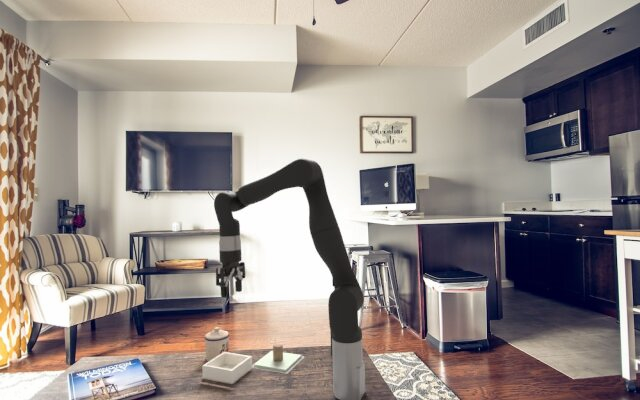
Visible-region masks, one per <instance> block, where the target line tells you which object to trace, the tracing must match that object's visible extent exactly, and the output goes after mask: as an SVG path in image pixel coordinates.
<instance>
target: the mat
mask: <svg viewBox="0 0 640 400" xmlns="http://www.w3.org/2000/svg"><path fill="white" fill-rule="evenodd" d="M305 357H306V356H304V355H302V357H301V358H300V359H299V360H298V361H297V362H296V363H295V364H294V365H293V366H292V367H291V368H290V369H289V370H287V371H286V372H282V371H276V370H271V369H265V368H259V367H254V364H255V363H252V368H253V369H256V370H260V371H261V370H262V371H267V372H268V371H269V372H272V373H273V372H274V373H281V374H285V375H287V374H289V373H290V372H291V371H292V370H293V369H294V368H295V367H296V366H297V365H298V364H299V363H300V362H301V361H303V359H304V358H305Z"/></svg>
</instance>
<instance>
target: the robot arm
mask: <svg viewBox="0 0 640 400" xmlns="http://www.w3.org/2000/svg"><path fill="white" fill-rule="evenodd" d="M324 177H325V176H324V171H323V169H322V167H321V166H320V164H319V163H318V162H317V161H315V160H312V159H308V158H297V159H294V160H293V161H292V162H290V163H288V164H286V165H285V166H283V167H281V169H278V170H276V171H275V172H273V173H271V174H269V175H267V176H265V177H262V178H260V179H257V180H254V181H252V182H249V183H247V184H244V185H242V186H241V187H240V188H239V189H238V190H236V191H233V192H232V191H231V192H229V191H228V192H227V191H226V192H219V193H218V194H217V195H216V196H215V198H214V201H213V207H214V211H215V215H216V218H217V221H218V224H219V227H218V229H219V241H218V245H219V247H218V248H219V249H218V250H219V251H218V252H219V263H221V264H222V266H221V267H216V270H215V285H216V286H218V287H220V297H221V298H228V296H229V295H228V294H229V293H228V290H229V289H228V284H229V282H230V281H231V279H232V278H233V279H234V280H235V283H234V284H235V286H234V287H235V292H236V293H237V292H238V293H241V292H242V291H243V285H242V284H243V283H242V281H244V279H246V265H245V262H244V261H242V259H243V258H242V241H241V235H240V234H241V230H240V229H241V227H240V226H241V225H240V222H239V220H238V219H237V218H234V216H233V213H235V212H239V211H241V210H243V209H245V208H247V207H248V206H250V205H253V204H256V203H258V202H262V201H265V200H266V199H268V198H271V196H273V195H274V194H276V193H278V192H280V191H282V190H283V191H284V190H287V189H291V188H292V189H294V188H302V189H303V191H304V195H305V197H306V199H307V203H308V210H309V211H308V212H309V214H308V226H309V233H310V236H311V239H312V242H313V245H314V248H315V249H316V252H317V254H318V255H319V257H320V258H321V260H322V262H324V264H325V265H326V267H327V269H328V270H329V272H330V275H331V277H332V282H333V281H334V284H335V288H336V289H335V288H334V290H333V291H332V292H331V293H330V294H329V298H328V306H327V308H328V319H329V320H328V323H329V329H330V330H331V332H332V352H333V356H332V383H333V384H332V387H333V388H332V389H333V390H332V391H333V396H334V397H335V398H336V400H337V399H338V400H362V398H363V397H364V395H365V394H366V369H365V367H366V366H365V365H366V364H365V363H366V361H365V360H364V359H363V358H364V357H363V331H362V328H361V327H360V326H359V312H358V311H360V310H361V308H362V307H363V305H364V300H365V299H364V298H365V296H364V293H363V290H362V288H361V285H360V282H359V281H358V279H357V276H356V274H355V272H354V269H353V267H352V265H351V264H352V263H351V261H350V258H349V254H348V252H347V248H346V245H345V242H344V240H343V236H342V233H341V229H340V226H339V223H338V221H337V219H336V215H335V212H334V209H333V206H332V204H331V201H330V198H329V195H328V190H327V186H326V181H325V178H324ZM331 332H330V333H331Z"/></svg>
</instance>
